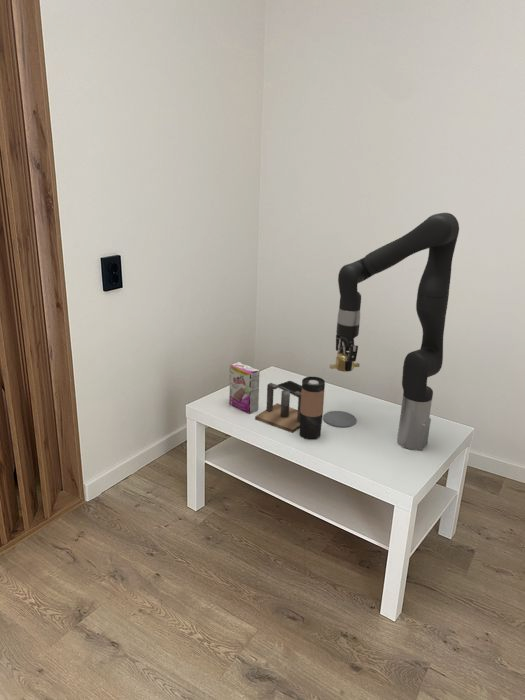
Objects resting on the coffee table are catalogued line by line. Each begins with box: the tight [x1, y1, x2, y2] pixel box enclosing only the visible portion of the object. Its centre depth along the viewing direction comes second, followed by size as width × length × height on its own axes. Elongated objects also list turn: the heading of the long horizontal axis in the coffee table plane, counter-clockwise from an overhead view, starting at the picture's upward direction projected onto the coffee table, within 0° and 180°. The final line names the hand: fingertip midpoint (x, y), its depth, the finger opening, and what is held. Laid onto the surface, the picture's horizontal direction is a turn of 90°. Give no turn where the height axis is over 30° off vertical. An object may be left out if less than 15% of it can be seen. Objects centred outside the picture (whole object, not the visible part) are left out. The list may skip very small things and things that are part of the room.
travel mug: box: [299, 376, 326, 440], centre depth 185 cm, size 8×8×20 cm
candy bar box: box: [228, 361, 260, 415], centre depth 204 cm, size 11×5×16 cm, turn 46°
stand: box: [254, 382, 302, 433], centre depth 197 cm, size 16×14×12 cm
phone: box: [277, 380, 302, 396], centre depth 223 cm, size 8×1×15 cm
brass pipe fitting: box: [329, 351, 361, 373], centre depth 192 cm, size 11×6×5 cm, turn 105°
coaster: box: [322, 410, 357, 429], centre depth 200 cm, size 12×12×1 cm
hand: (344, 367), depth 193 cm, fingers closed on brass pipe fitting, 5 cm apart
